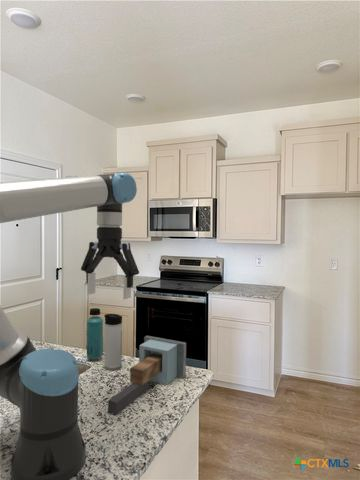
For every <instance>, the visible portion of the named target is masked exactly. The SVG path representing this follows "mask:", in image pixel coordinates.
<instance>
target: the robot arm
mask: <svg viewBox="0 0 360 480" xmlns="http://www.w3.org/2000/svg"><path fill="white" fill-rule="evenodd" d="M137 191H138V189H137V182H136V180H135V178H134V177H133V176H132V175H131V174H130V173H128V172H115V173H105V174H93V175H81V176H77V175H75V176H73V175H67V176H64V177H55V178H42V179H40V178H39V179H29V180H27V179H26V180H17V181H15V180H13V181H4V182H0V224H3V223H9V222H15V221H21V220H25V219H32V218H38V217H43V216H49V215H54V214H60V213H66V212H72V211H78V210H83V209H88V208H89V209H90V208H95V207H96V225H97V226H98V227H97V228H96V239H97V241H90V242H89V243H88V250H87V253H86V255H85V257H84V260H83V262H82V265H81V267H80V270H81V271H83V272H84V273H85V274H86V276H85V277H86V279H85V281H86V283H87V295H93V294H96V272H95V270H96V269H97V267H98V266H99V264H100V262H102V260H103V259H104V258H113V259H114V260H115V261H116V263H118V264H117V265H119V267H120V269H121V270H122V272H123V274H124V275H125V276H124V277H123V295H122V296H123V300H128V299H130V298H131V297H132V288H133V287H134V276H137V275H139V274H140V270H139V267H138V265H137V263H136V261H135V258H134V255H133V252H132V250H131V243H129V242H123V243H122V239H123V228H122V227H121V226H122V225H123V204H125V203H130V202H132V201H133V200H134V199H135V198H136V195H137ZM97 249H98V250H97ZM78 365H79V363H78V361H77V358H76V357H75V356H74V355H73V353H71V352H68V351H67V350H65V349H59V348H56V349H54V348H42V349H36V347H35V345H34V344H33V342H32V340H31V339H30V337H29V336H28V334H27V333H26V332H25V331H23V330H17V329H16V328H15V327H14V326H13V324H12V322H11V321H10V319H9V317H8V316H7V314H6V312H5V311H4V309H3V307H2V306H1V305H0V397H2V398H3V399H5V400H6V401H8V402H10V403H11V404H13V406H16V407H17V408H19V436H18V440H17V442H16V447H15V451H14V453H12V454H13V455H12V457H11V461H10V477H11V480H70V479H71V478H73V477H75V475H77V474H78V473H79V472H80V471H81V469H82V468H83V466H84V465H85V462H86V457H87V456H86V452H87V451H86V450H87V449H86V444H85V443H86V442H85V440H84V438H83V435H82V431H81V429H80V425H79V421H78V420H79V419H78V418H79V416H78V412H79V411H78V410H79V409H78V408H79V405H78V404H79V379H80V373H79V366H78Z"/></svg>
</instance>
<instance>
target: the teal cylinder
mask: <svg viewBox="0 0 360 480" xmlns="http://www.w3.org/2000/svg"><path fill="white" fill-rule="evenodd" d="M89 315H90V317H89V318H87V320H86V346H85V347H86V349H85V350H86V357H87V358H88V359H99V358H101V357H103V356H104V355H103V354H104V332H103V331H104V329H103V328H104V319H103V317H101V316H100V315H101V309H100V308H98V307H97V308H96V307H92V308H90V309H89Z"/></svg>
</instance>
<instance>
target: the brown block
mask: <svg viewBox="0 0 360 480" xmlns="http://www.w3.org/2000/svg"><path fill="white" fill-rule="evenodd" d="M161 371H162V355H159V354H154V353H153V354H152V355H150V356H149V357H147V358H145V359H144V360H142V361H141V362H139V361H138V362H137V363H136V364H135V365H134V364H133V366H131V367H130V368H129V379H130V380H129V383H130V384H132V383H135V384H139V385H144V384H145V383H146V382H148V381H149V380H150V379H152V378H153V377H154V376H156V375H157V374H158V373H160V372H161ZM149 382H150V381H149Z"/></svg>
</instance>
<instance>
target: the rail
mask: <svg viewBox="0 0 360 480" xmlns="http://www.w3.org/2000/svg"><path fill="white" fill-rule="evenodd" d="M149 384H150V381H148V382H146V383H145V384H144V385H139V384H135V383H130V384H129V385H128V386H126V387H125V388H123V389H122V390H120V391H118V392H117V394H115V395H114V396H112V397H110V398H109V399H108V401H107V413H108V414H111V415H115V416H117V415H118V414H120V413H121V412H122V411H123V410H124V409H126V408H127V407H128V406H129V405H130V404H132V403H133V402H135V401H136V400H137V399H138V398H139V397H140V396H141V395H143V394H144V393H145V392H147V391H148V390H149V388H150V387H149V386H150V385H149Z"/></svg>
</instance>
